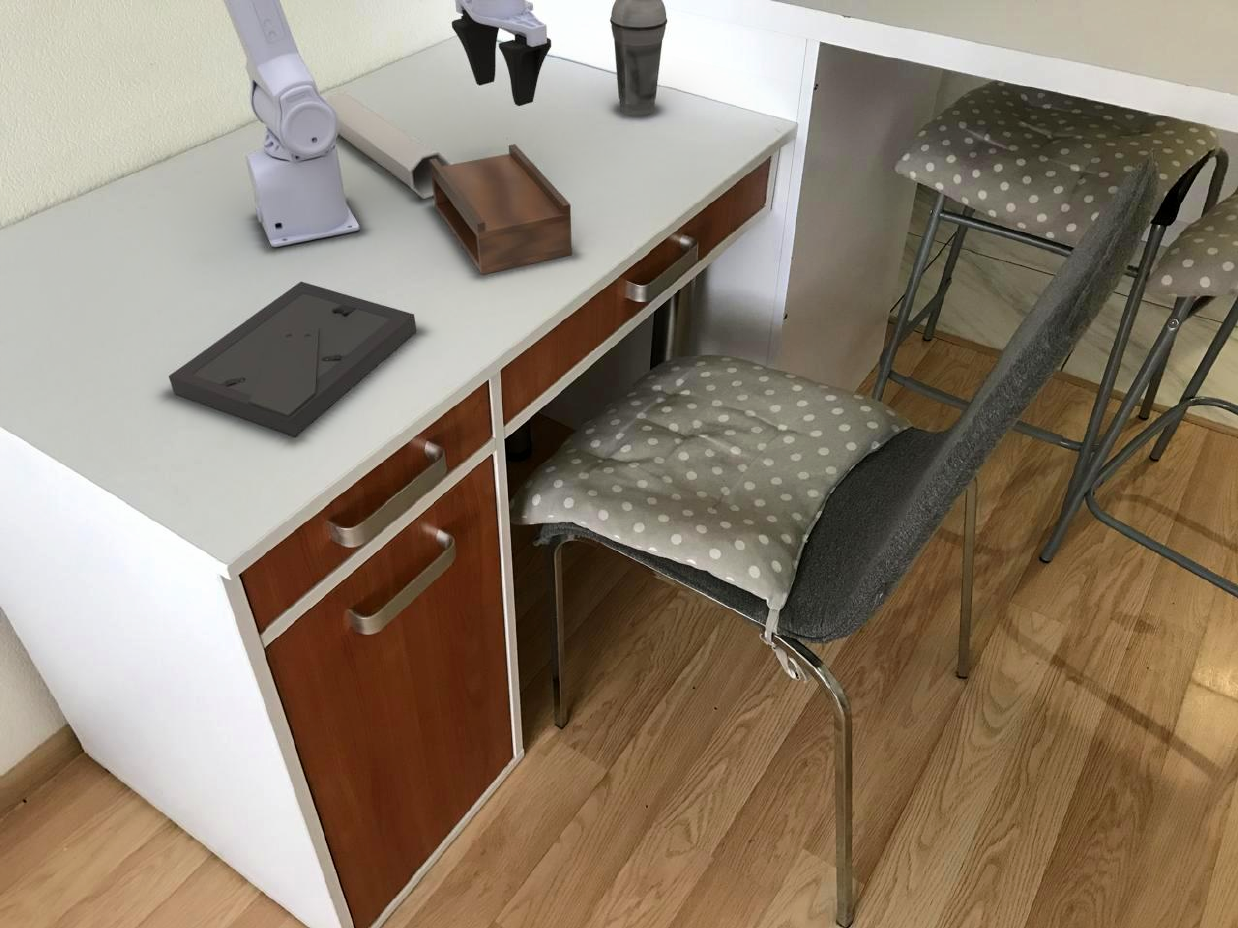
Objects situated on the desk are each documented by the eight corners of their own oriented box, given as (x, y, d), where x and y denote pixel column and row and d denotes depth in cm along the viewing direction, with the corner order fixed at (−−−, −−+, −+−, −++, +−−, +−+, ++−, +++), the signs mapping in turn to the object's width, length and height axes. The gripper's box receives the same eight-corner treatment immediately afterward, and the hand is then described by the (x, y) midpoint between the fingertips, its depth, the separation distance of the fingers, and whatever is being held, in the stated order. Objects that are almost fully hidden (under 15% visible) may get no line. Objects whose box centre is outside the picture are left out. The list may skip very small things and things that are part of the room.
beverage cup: (602, 102, 142) (602, -58, 129) (653, 96, 144) (658, -62, 131) (619, 123, 137) (620, -41, 124) (671, 117, 139) (678, -46, 126)
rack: (482, 274, 108) (477, 223, 104) (434, 208, 119) (429, 159, 115) (571, 254, 111) (570, 204, 107) (518, 191, 122) (515, 144, 118)
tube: (306, 101, 132) (402, 169, 117) (341, 78, 133) (440, 143, 118) (326, 136, 136) (421, 207, 121) (360, 114, 137) (458, 181, 122)
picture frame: (295, 437, 88) (416, 331, 100) (289, 416, 86) (413, 311, 99) (173, 394, 92) (304, 297, 104) (166, 373, 91) (300, 278, 103)
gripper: (568, -26, 109) (571, 104, 117) (488, -56, 117) (496, 66, 126) (512, -13, 105) (519, 119, 114) (434, -45, 113) (446, 80, 122)
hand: (504, 93), depth 120 cm, fingers open, 7 cm apart
